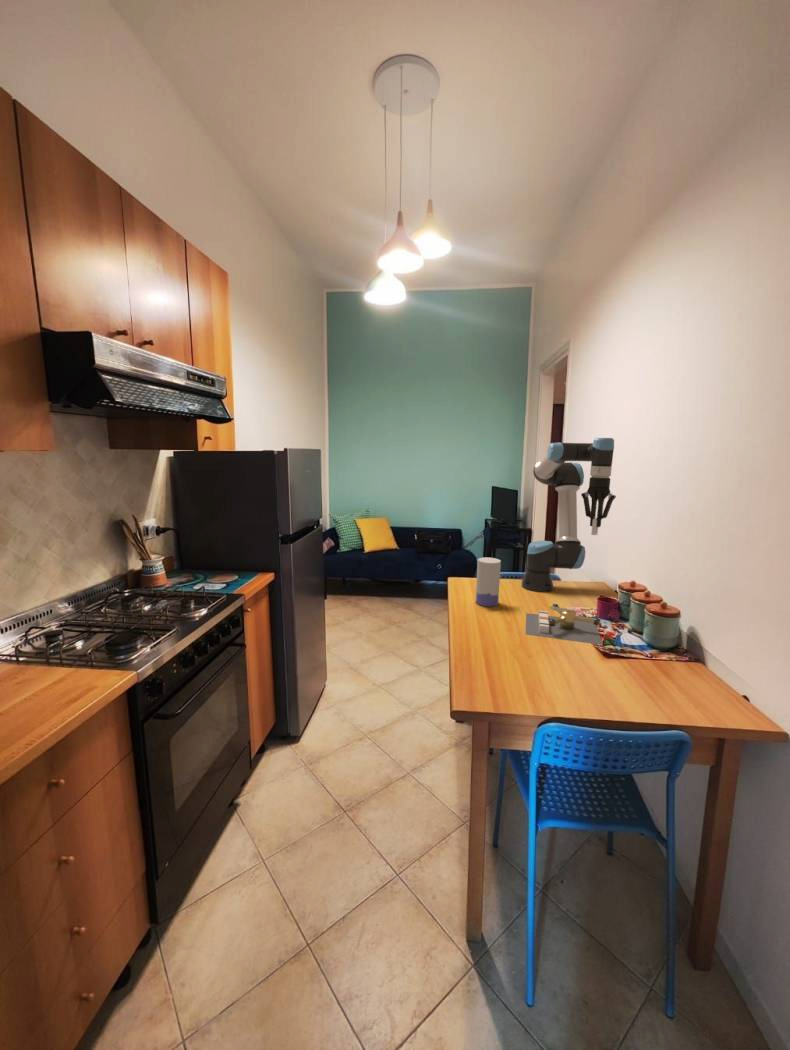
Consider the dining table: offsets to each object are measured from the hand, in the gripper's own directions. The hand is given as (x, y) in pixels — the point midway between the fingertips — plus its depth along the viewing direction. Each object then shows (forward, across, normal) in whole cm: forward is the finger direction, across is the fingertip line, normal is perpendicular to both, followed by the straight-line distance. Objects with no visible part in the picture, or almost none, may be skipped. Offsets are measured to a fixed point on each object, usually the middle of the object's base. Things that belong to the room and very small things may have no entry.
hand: (594, 534), depth 175 cm
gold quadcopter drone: (+33, +3, -23) cm, 40 cm away
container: (+35, -37, -20) cm, 54 cm away
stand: (+34, 0, -26) cm, 43 cm away
